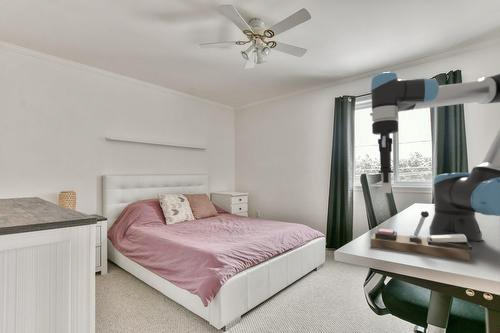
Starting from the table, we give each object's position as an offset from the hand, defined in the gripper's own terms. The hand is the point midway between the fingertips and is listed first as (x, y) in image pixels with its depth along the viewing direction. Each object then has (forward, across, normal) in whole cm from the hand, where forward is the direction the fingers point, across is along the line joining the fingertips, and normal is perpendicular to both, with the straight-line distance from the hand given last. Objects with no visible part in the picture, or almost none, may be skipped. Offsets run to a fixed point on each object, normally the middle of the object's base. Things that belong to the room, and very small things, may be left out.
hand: (386, 192), depth 82 cm
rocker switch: (+13, 0, +16) cm, 20 cm away
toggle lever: (+13, 0, +8) cm, 15 cm away
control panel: (+17, 0, +8) cm, 19 cm away
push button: (+14, 0, 0) cm, 14 cm away
